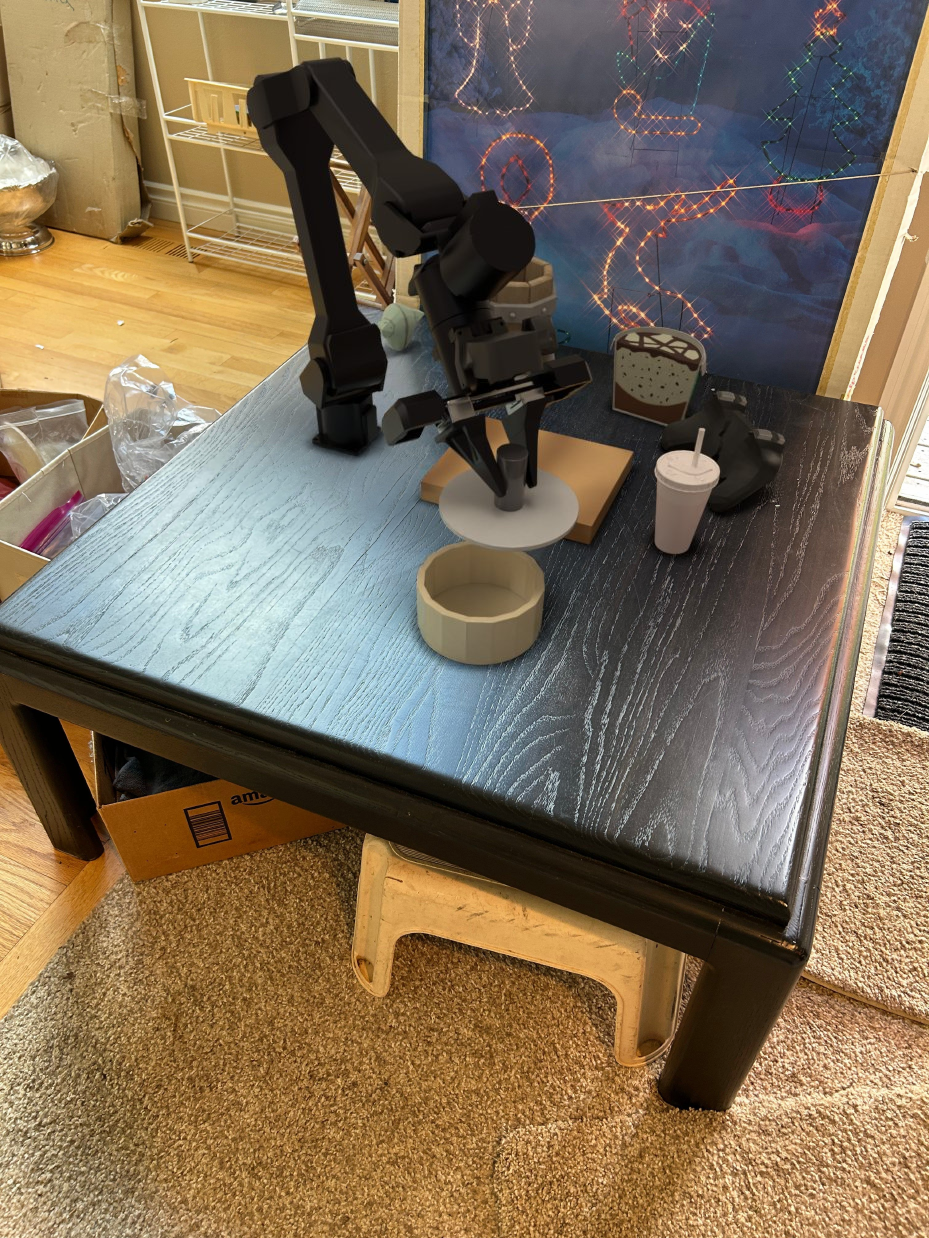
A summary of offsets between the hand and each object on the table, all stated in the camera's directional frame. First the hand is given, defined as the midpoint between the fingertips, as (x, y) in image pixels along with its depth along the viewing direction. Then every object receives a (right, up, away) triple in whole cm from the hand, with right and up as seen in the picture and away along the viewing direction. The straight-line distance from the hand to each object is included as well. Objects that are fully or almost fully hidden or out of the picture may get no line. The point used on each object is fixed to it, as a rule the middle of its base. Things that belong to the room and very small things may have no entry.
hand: (517, 492), depth 80 cm
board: (+3, +4, +25) cm, 25 cm away
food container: (+20, +16, +38) cm, 46 cm away
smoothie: (+18, -3, +17) cm, 25 cm away
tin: (-3, -12, +7) cm, 14 cm away
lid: (-1, -1, +3) cm, 3 cm away
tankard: (-1, +22, +44) cm, 49 cm away
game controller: (+25, +6, +27) cm, 37 cm away
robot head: (-14, +27, +49) cm, 58 cm away
